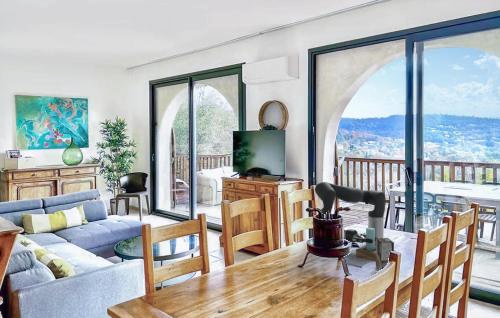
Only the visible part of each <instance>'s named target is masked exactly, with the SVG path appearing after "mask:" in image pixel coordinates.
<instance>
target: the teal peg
mask: <svg viewBox="0 0 500 318" xmlns="http://www.w3.org/2000/svg"><path fill="white" fill-rule="evenodd" d="M365 233H366V238H368V239H373V243H367V242H366V243H365V245H366V250H368V251H372V252H373V251H375V247H376V245H375V229H374V228H368V227H366V228H365Z"/></svg>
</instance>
